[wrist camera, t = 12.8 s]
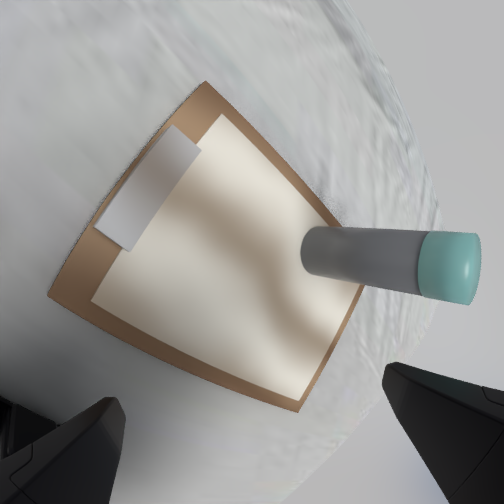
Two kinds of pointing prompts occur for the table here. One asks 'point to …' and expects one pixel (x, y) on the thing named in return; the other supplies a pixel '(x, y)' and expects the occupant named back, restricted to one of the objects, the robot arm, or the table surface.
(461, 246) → the marker
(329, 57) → the table surface
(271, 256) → the clipboard
